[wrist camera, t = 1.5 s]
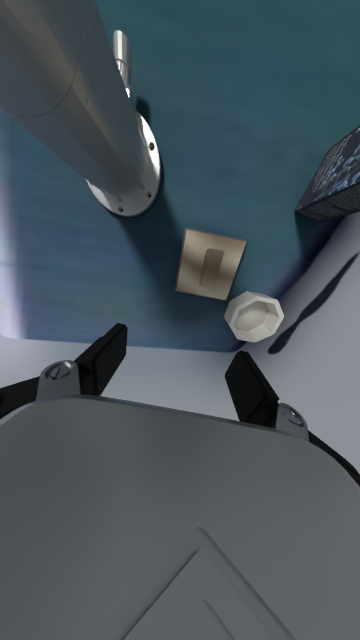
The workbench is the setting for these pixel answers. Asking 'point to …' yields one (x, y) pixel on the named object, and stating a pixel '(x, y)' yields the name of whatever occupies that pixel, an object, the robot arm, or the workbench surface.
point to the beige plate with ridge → (209, 264)
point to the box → (335, 182)
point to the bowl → (253, 316)
